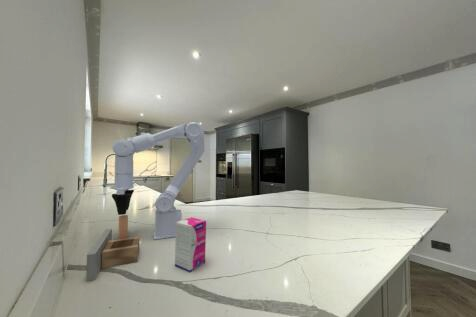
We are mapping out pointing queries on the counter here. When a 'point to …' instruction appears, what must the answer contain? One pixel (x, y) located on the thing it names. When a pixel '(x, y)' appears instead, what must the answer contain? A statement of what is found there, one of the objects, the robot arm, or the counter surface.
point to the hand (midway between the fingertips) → (123, 212)
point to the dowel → (123, 227)
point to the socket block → (121, 252)
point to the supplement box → (190, 243)
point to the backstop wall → (97, 255)
